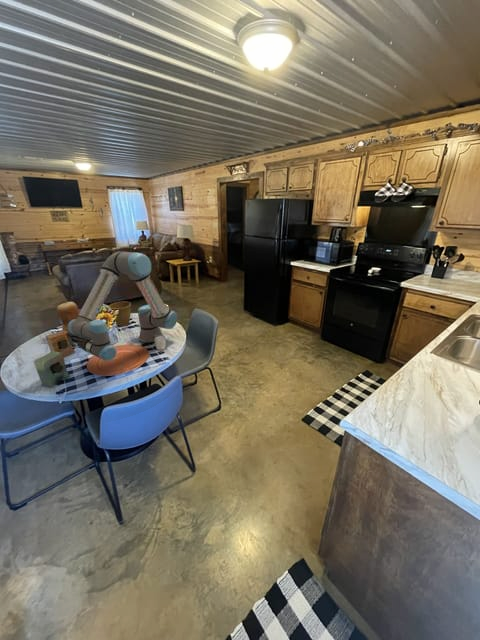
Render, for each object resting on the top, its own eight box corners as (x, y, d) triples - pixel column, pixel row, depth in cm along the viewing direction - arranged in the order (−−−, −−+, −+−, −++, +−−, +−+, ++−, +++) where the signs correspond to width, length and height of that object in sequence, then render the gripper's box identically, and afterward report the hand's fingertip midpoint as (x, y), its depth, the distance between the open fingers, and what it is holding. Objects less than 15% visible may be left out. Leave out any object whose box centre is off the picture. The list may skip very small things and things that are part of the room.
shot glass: (168, 345, 169) (167, 336, 166) (162, 350, 163) (161, 340, 160) (159, 344, 171) (158, 334, 168) (153, 349, 165) (151, 339, 162)
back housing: (74, 352, 161) (69, 332, 155) (57, 359, 153) (50, 338, 147) (69, 350, 164) (63, 329, 158) (52, 357, 156) (45, 336, 150)
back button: (69, 347, 155) (67, 341, 153) (62, 349, 152) (60, 343, 150) (66, 345, 157) (64, 339, 155) (59, 348, 153) (57, 342, 152)
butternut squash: (65, 335, 183) (55, 301, 173) (87, 331, 189) (78, 298, 179) (64, 343, 172) (54, 307, 162) (87, 338, 178) (78, 304, 168)
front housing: (68, 375, 138) (61, 352, 133) (51, 387, 129) (42, 363, 124) (60, 374, 140) (52, 351, 134) (42, 385, 131) (33, 361, 126)
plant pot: (119, 320, 207) (115, 301, 201) (137, 321, 206) (134, 301, 200) (108, 328, 194) (104, 307, 187) (128, 329, 192) (124, 308, 186)
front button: (64, 370, 133) (61, 363, 131) (56, 374, 129) (54, 367, 128) (59, 369, 134) (57, 362, 132) (51, 373, 130) (49, 366, 128)
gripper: (81, 357, 130) (57, 345, 141) (105, 347, 140) (81, 336, 152) (77, 344, 127) (53, 333, 138) (102, 334, 137) (78, 325, 149)
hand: (68, 335), depth 145 cm, fingers closed
